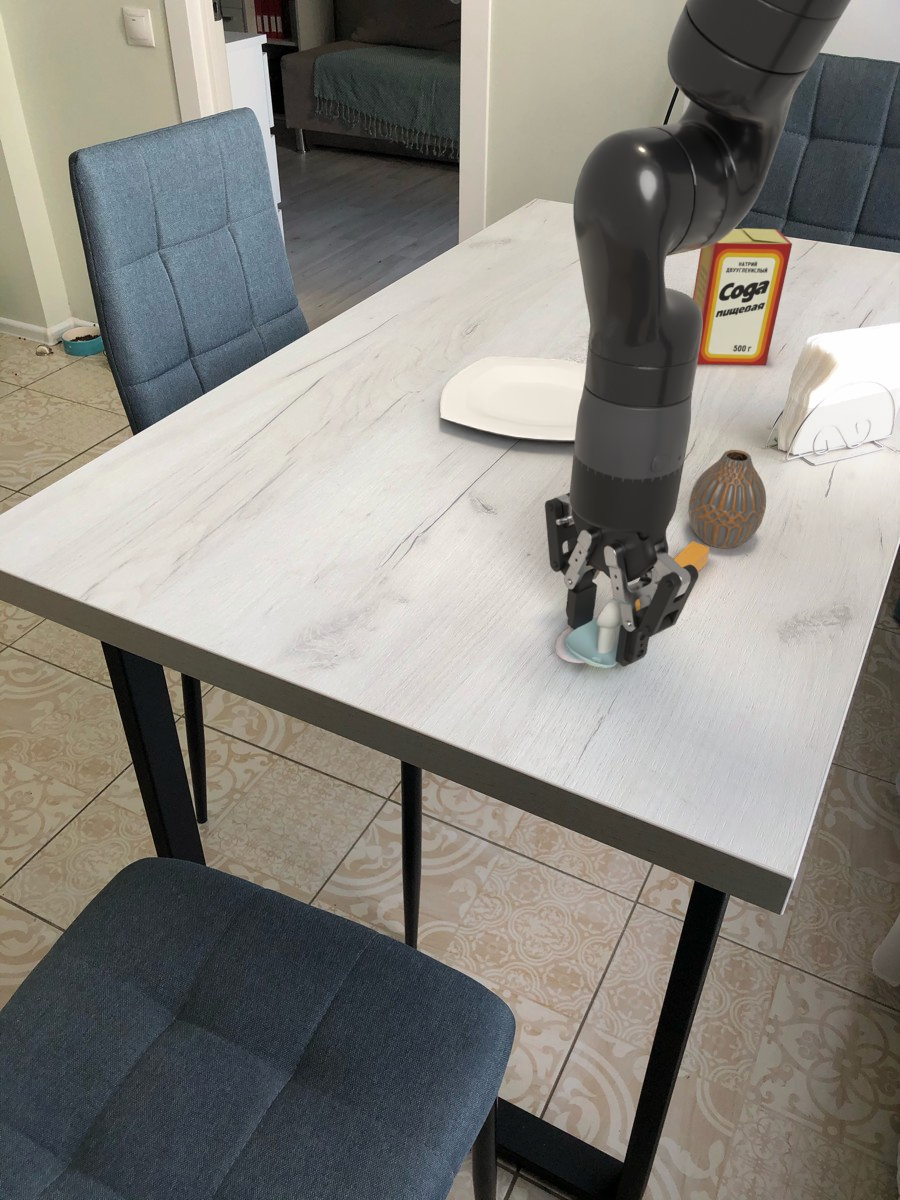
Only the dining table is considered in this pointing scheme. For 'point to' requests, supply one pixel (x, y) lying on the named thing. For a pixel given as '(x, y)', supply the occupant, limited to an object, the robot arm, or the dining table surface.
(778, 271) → the baking soda box
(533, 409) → the plate
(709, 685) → the dining table surface
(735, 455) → the vase
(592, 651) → the pacifier
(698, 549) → the wooden stick
